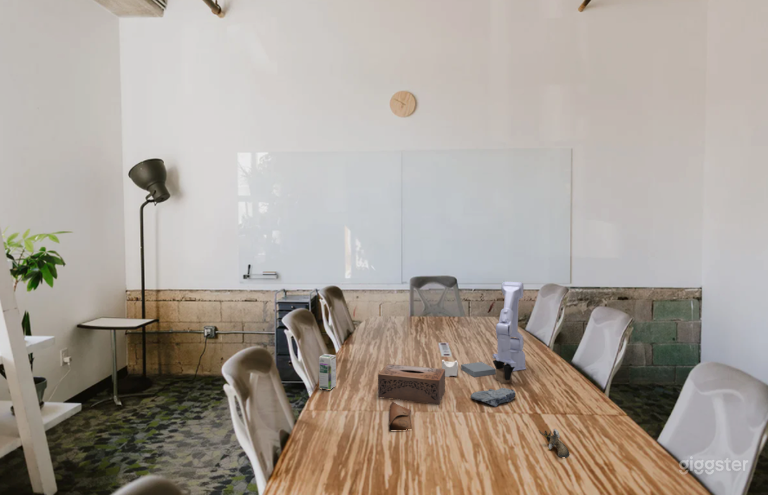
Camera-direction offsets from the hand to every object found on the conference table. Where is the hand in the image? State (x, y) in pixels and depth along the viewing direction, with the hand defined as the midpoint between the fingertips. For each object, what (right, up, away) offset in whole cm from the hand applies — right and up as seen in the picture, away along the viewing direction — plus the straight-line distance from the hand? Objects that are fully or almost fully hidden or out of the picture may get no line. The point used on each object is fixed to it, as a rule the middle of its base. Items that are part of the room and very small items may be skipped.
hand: (503, 377), depth 191 cm
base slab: (-9, -1, +13) cm, 16 cm away
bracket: (-23, -2, +12) cm, 26 cm away
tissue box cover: (-43, -3, -15) cm, 46 cm away
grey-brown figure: (-2, -4, -61) cm, 61 cm away
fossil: (-10, -3, -22) cm, 25 cm away
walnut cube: (0, -2, 0) cm, 2 cm away
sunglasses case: (-49, -4, -39) cm, 63 cm away
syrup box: (-80, -2, -8) cm, 81 cm away
